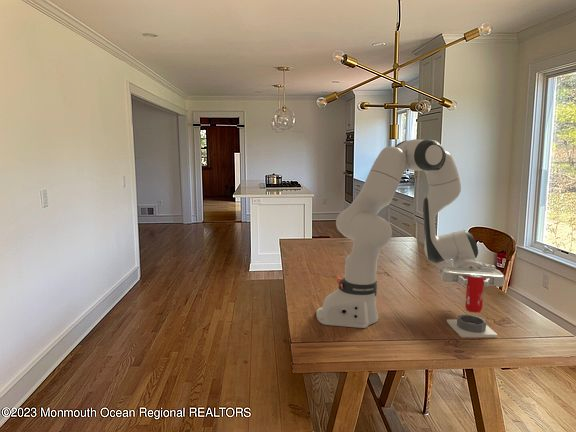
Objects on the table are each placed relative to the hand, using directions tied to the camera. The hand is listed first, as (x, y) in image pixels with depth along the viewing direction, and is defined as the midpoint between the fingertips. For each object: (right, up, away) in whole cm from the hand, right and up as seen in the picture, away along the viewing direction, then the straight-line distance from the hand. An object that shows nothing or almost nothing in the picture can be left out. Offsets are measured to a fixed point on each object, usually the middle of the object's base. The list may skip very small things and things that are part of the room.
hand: (475, 283), depth 141 cm
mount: (0, -16, +4) cm, 17 cm away
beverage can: (0, -10, +2) cm, 10 cm away
